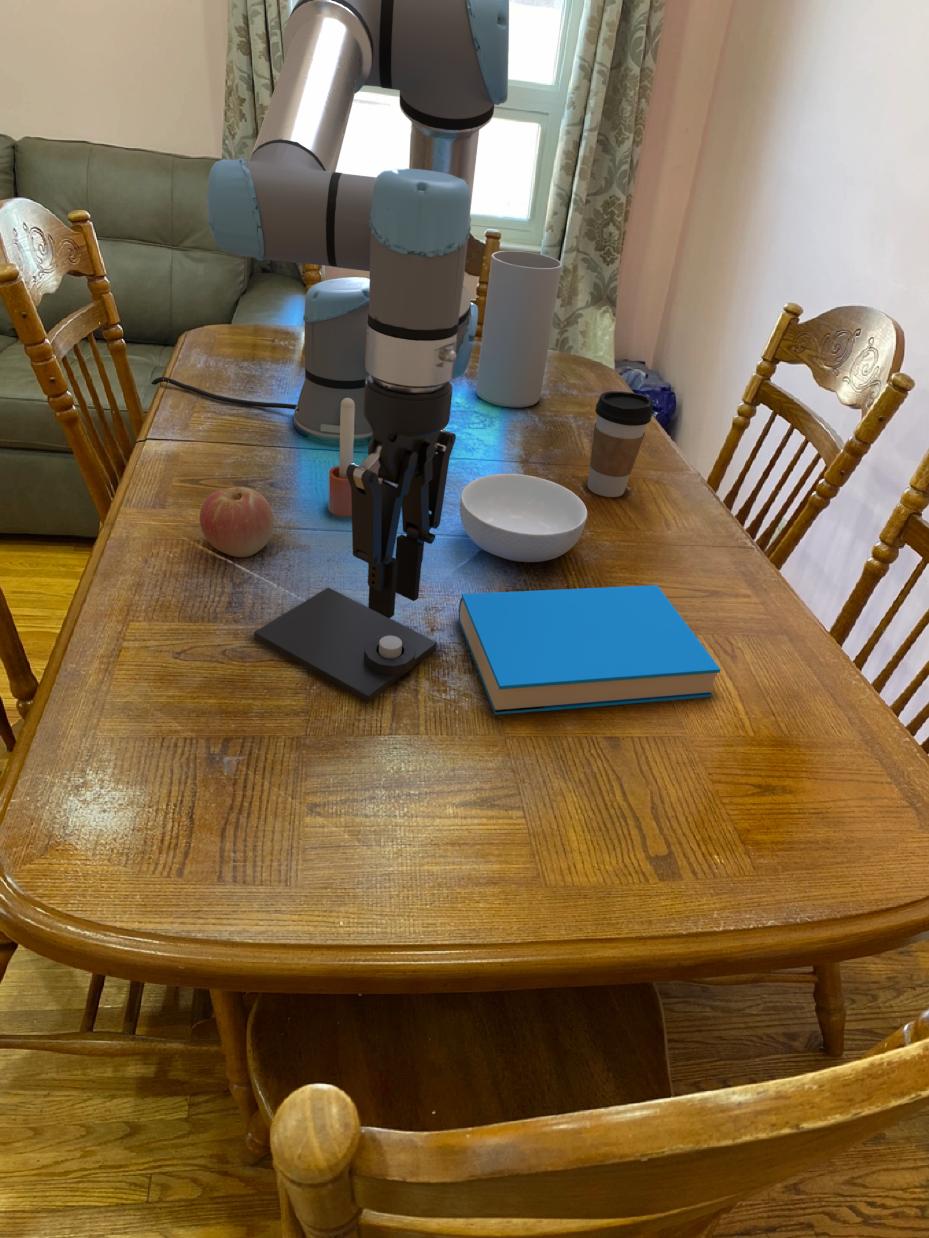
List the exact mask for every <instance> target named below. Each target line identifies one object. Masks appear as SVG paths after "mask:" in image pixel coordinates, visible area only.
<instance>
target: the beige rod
mask: <svg viewBox="0 0 929 1238" xmlns="http://www.w3.org/2000/svg"><path fill="white" fill-rule="evenodd" d="M354 414H355V403H354V401H353V400H352V399H350V398H345V399H343V400H342V402H341V416H340V443H339V465H338V466H339V478H342V479H348V477H347V474H346V470H347V467H348V466H349V465H350V464H352V463H353V464H354Z"/></svg>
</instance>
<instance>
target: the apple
mask: <svg viewBox="0 0 929 1238" xmlns="http://www.w3.org/2000/svg"><path fill="white" fill-rule="evenodd" d="M274 522H275V519H274V513H273V509H272V507H271V505H270V503H269V502H268V500H267V499H266V497H264V495H262V494H261V493H259V492H258V491H256V490H253V489H251V488H249V487H243V486H239V487H238V486H237V487H236V486H235V487H228V488H224V489H220V490H216V491H214V492H211V494H209V495H208V496H207V497H206V499H205V500H204V501H203V503H202V505H201V507H200V511H199V525H200V528H201V532H202V534H203V536H204V537H205V539H206V540H207V541H208V543H209V544H210V546H212V547H213V548H215V549H216V550H218V551H219V552H221V553H224V554H226V555H228V556H231V557H234V558H248V557H251V556H253V555H255V554H257V553H259V551H262V549H263V548H264V547H265V546H266V545H267V544H268V543H269V541H270V539H271V537H272V534H273V532H274V531H273V530H274Z"/></svg>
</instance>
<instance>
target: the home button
mask: <svg viewBox="0 0 929 1238" xmlns="http://www.w3.org/2000/svg"><path fill="white" fill-rule="evenodd" d="M401 652H402V641H401V639H399V638H398V637H396V636H385V637H383V638H381V639H380V641H379V654H380V655H381V656H382V657H384V658H390V659H394V658H398V657H399V656H400V655H401Z"/></svg>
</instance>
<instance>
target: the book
mask: <svg viewBox="0 0 929 1238" xmlns="http://www.w3.org/2000/svg"><path fill="white" fill-rule="evenodd" d="M458 623H459V626H460V627H461V631H462V633H463V635H464V638H465V640H466V641H465V642H466V644H467V647H468V649H469V652H470V653H471V657H472V659H473V662H474V664H475V667H476V670H477V672H478V674H479V678H480V680H481V682H482V685H483V687H484V688H483V689H484V690H485V692H486V695H487V698H488V700H489V703H490V706H491V707H492V710H493V713H494V715H507V714H518V713H519V714H521V713H532V712H549V711H559V710H572V709H582V708H583V709H584V708H595V707H608V706H619V705H630V704H631V705H632V704H642V703H653V702H654V703H655V702H656V703H657V702H665V701H667V702H668V701H677V700H678V701H679V700H690V699H703V698H711V696H712V693H711V691H712V688H713V686H714V683H715V680H716V677H717V674H719V673H720V672H721V668H720V666H719V665H718V664H717V662H716V661H715V660H714V658H713V657H712V656H711V654H710V653H709V652H708V651H707V649H706V648H705V647H704V645H703V644H702V643H701V641H700V639H699V638H698V637H697V636H696V634H695V633H694V632H693V630H692V629H691V628H690V627H689V625H688V624H687V623H686V621H685V620H684V619H683V617H682V615H680V613H679V611H677V609H676V608H675V607H674V605H673V604H672V603H671V601H670V600H669V599H668V598H667V596H666V595H665V593H664V592H663V590H662V589H661V588H660V586H659V585H658V584H654V585H653V584H651V585H630V586H629V585H628V586H608V587H607V586H606V587H588V588H587V587H585V588H584V587H583V588H566V589H565V588H563V589H543V590H542V589H540V590H521V591H520V590H519V591H518V590H517V591H499V592H495V591H494V592H479V593H478V592H474V593H473V592H472V593H461V598H460V600H459V605H458ZM535 707H536V708H535ZM537 707H542V708H537ZM525 708H532V709H525ZM515 709H519V710H515ZM520 709H521V710H520ZM501 710H507V711H501Z"/></svg>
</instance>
